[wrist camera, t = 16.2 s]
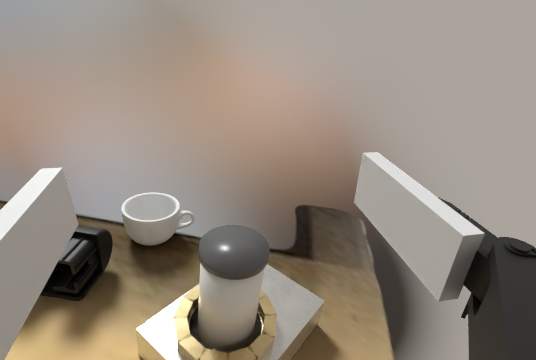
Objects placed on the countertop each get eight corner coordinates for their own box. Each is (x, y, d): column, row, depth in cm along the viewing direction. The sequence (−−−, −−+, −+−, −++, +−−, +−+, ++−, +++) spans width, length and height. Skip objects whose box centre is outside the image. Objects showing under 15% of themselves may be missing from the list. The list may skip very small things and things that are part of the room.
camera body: (224, 447, 27) (229, 411, 24) (138, 354, 33) (135, 318, 30) (317, 324, 39) (327, 291, 36) (242, 272, 44) (246, 241, 42)
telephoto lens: (227, 366, 28) (237, 284, 24) (182, 325, 31) (183, 246, 27) (268, 322, 33) (283, 246, 28) (225, 291, 36) (232, 217, 31)
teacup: (119, 253, 45) (115, 222, 42) (129, 220, 51) (127, 191, 49) (193, 252, 47) (194, 221, 44) (194, 220, 53) (194, 192, 51)
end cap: (115, 260, 43) (110, 219, 40) (85, 302, 37) (76, 258, 34) (42, 249, 43) (32, 207, 40) (0, 289, 37) (-17, 243, 34)
